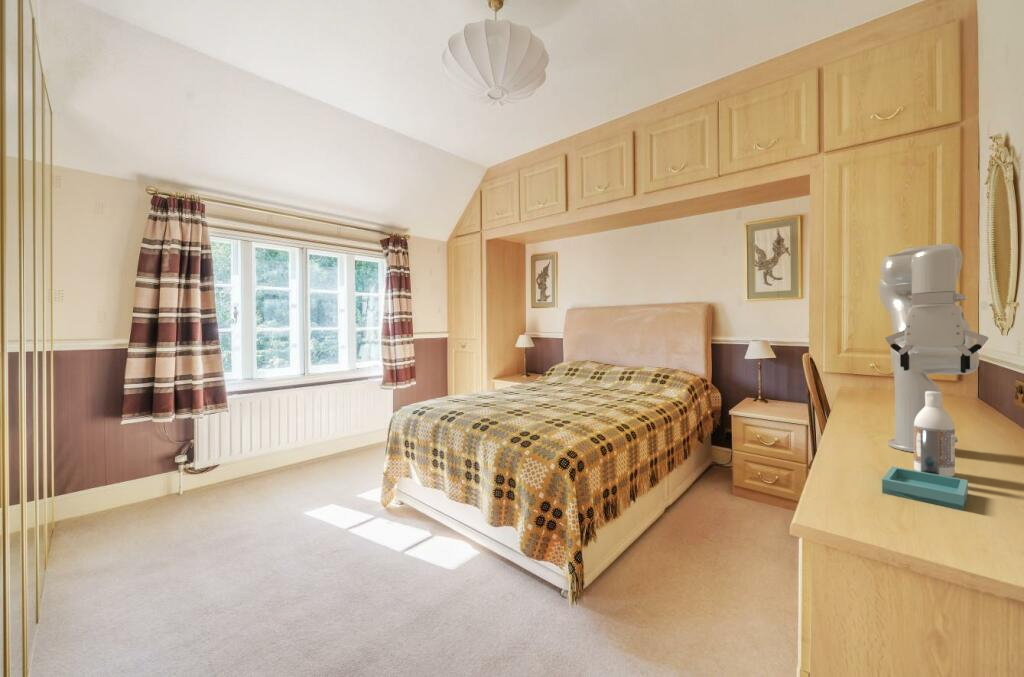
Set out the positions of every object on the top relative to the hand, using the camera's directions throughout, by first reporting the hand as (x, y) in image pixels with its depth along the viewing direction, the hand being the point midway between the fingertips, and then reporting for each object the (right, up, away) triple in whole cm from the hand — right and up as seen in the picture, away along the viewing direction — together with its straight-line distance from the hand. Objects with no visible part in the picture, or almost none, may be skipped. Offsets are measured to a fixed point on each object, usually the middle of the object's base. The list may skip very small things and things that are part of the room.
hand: (933, 371), depth 99 cm
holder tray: (-13, -26, -11) cm, 31 cm away
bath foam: (+1, -25, +1) cm, 25 cm away
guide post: (-5, -25, -4) cm, 26 cm away
